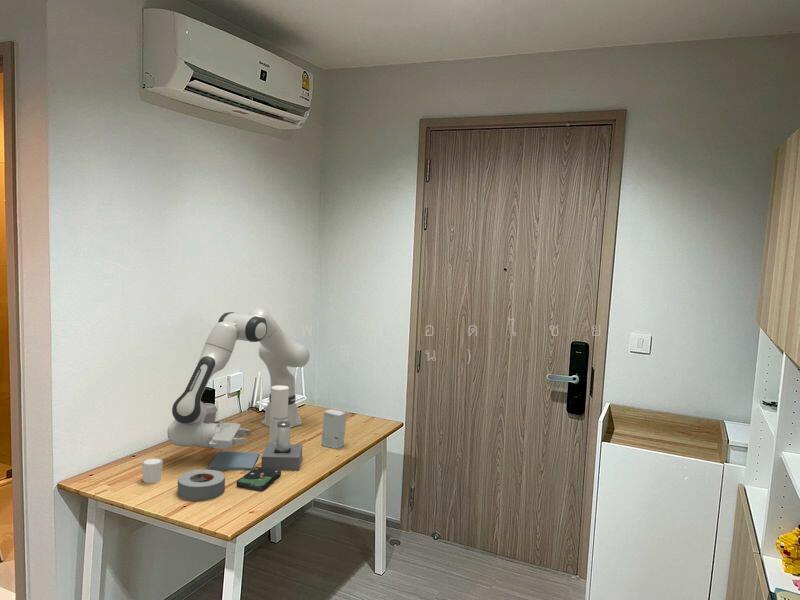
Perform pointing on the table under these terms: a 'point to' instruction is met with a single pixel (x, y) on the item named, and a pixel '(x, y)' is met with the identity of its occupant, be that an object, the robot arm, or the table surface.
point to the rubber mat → (234, 461)
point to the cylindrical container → (278, 409)
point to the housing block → (281, 458)
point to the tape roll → (201, 485)
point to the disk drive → (258, 479)
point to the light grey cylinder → (152, 470)
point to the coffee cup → (210, 413)
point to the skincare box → (333, 428)
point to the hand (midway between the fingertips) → (248, 436)
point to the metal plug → (283, 437)
